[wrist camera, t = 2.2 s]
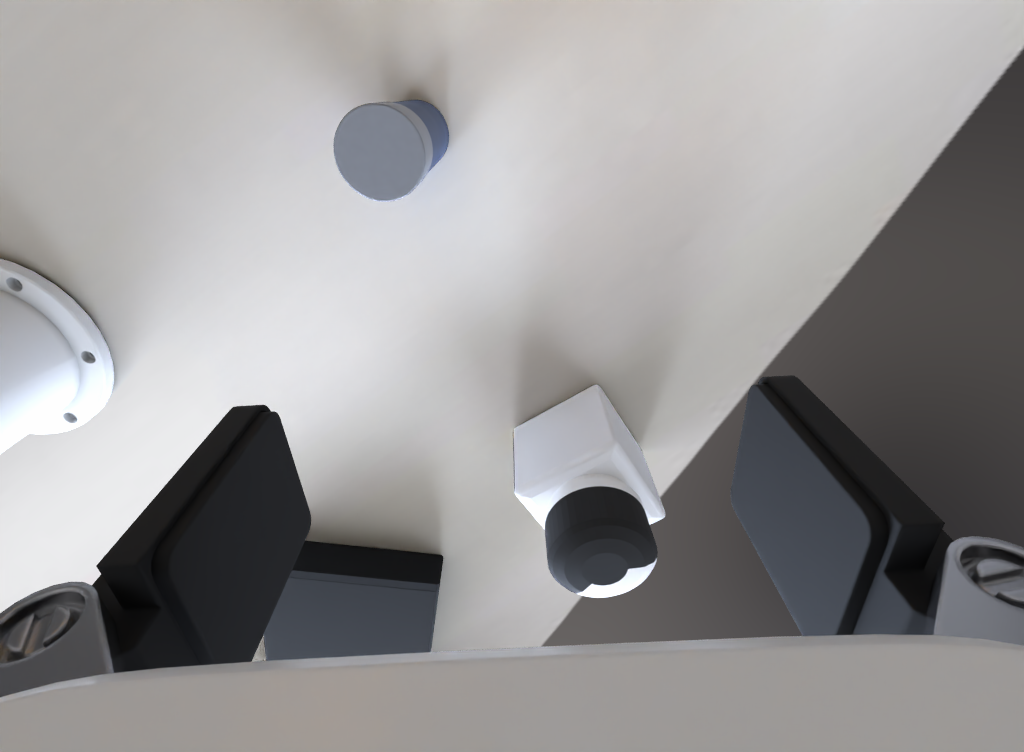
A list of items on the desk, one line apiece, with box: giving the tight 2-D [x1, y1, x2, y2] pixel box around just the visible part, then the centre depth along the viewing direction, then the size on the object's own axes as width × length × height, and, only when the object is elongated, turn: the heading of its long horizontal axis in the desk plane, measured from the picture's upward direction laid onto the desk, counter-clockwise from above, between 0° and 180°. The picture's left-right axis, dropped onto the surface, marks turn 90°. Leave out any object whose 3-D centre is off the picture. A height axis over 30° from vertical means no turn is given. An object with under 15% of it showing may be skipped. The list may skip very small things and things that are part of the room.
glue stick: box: [334, 100, 449, 202], centre depth 25 cm, size 4×4×10 cm
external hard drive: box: [264, 541, 443, 661], centre depth 48 cm, size 14×23×3 cm, turn 171°
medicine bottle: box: [513, 385, 665, 597], centre depth 34 cm, size 7×7×12 cm
